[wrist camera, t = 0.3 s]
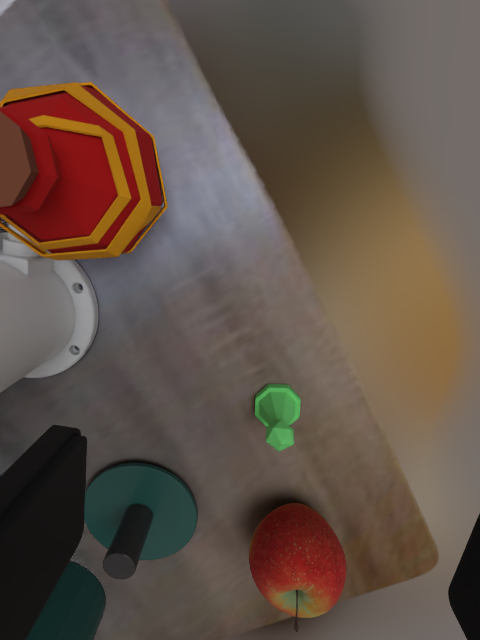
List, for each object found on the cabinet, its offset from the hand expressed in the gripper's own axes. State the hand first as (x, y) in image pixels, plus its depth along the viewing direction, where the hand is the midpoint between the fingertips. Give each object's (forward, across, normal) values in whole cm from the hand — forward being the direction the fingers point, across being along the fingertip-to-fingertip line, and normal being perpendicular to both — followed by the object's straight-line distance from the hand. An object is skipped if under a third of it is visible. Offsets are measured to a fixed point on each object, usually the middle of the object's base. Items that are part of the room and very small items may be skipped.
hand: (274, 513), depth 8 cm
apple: (+23, -6, +21) cm, 32 cm away
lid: (+22, +8, +23) cm, 33 cm away
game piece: (+23, -3, +9) cm, 25 cm away
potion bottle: (+23, +13, -7) cm, 27 cm away
